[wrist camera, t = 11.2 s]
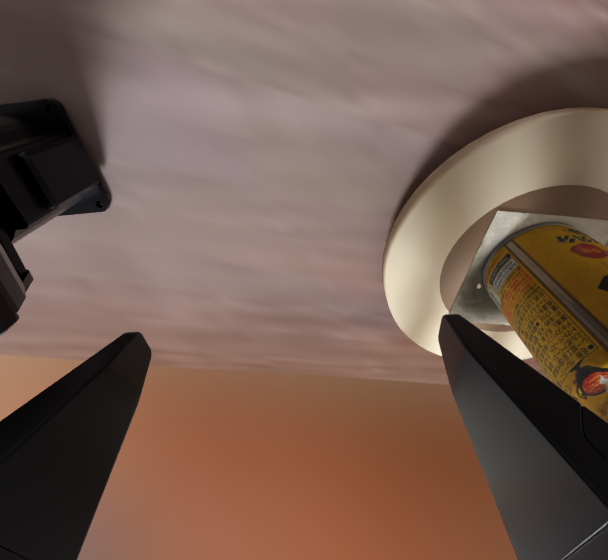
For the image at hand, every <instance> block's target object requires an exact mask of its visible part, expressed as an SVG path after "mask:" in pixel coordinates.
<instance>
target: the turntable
mask: <svg viewBox="0 0 608 560" xmlns="http://www.w3.org/2000/svg"><path fill="white" fill-rule="evenodd" d="M497 211H506V212H517V213H531V214H545V215H556V216H569V217H579V218H589V219H597V220H606V221H608V109H606V108H596V107H578V108H564V109H558V110H553V111H547V112H541V113H538V114H535V115H532V116H528V117H525V118H522V119H518V120H516V121H513V122H511V123H509V124H506V125H504V126H501V127H499V128H497V129H494V130H492V131H491V132H489V133H487V134H485V135H483V136H482V137H480V138H478V139H476V140H474V141H473V142H471V143H469V144H468V145H466V146H465V147H464V148H462V149H461V150H459V151H458V152H456V153H455V154H453V155H452V156H451V157H449V158H448V159H447V160H446V161H445V162H444V163H442V164H441V165H440V166H439V167H438V168H437V169H435V170H434V171H433V172H432V173H431V174H430V175H429V176H428V177H427V178H426V179H425V180H424V181H423V183H422V184H421V185H420V186H419V187H418V188H417V189H416V190H415V192H414V193H413V194H412V196H411V197H410V198H409V200H408V201H407V202H406V204H405V205H404V207H403V208H402V210H401V212H400V213H399V215H398V217H397V219H396V220H395V222H394V224H393V227H392V229H391V232H390V234H389V236H388V239H387V243H386V246H385V250H384V255H383V263H382V281H383V286H384V290H385V295H386V298H387V302H388V305H389V308H390V310H391V313H392V315H393V318H394V319H395V321H396V322H397V324H398V326H399V327H400V328H401V330H402V331H403V332H404V333H405V334H406V335H407V336H408V337H409V338H410V339H411V340H413V341H414V342H415V343H416V344H418V345H420V346H421V347H423V348H425V349H426V350H428V351H431V352H433V353H435V354H438V355H440V356H442V353H441V349H440V346H439V341H438V334H439V329H440V324H441V319H442V316H443V315H445V314H450V312H451V310H452V307H453V304H454V302H455V299H456V297H457V296H458V294H459V291H460V289H461V287H462V286H463V284H464V282H465V279H466V276H467V274H468V272H469V269H470V266H471V264H472V263H473V261H474V257H475V255H476V253H477V251H478V249H479V248H480V246H481V244H482V241H483V239H484V237H485V235H486V233H487V231H488V229H489V227H490V225H491V223H492V221H493V219H494V217H495V215H496V213H497ZM604 246H605V247H607V248H608V241H607V243H606V244H605V245H604ZM480 287H481V285H480V284H478V285H477V288H480ZM472 324H473V325H475V326H476V327H477V328H479V329H480V330H481V331H483V332H484V333H486V334H487V335H488V336H490V337H491V338H492V339H494V340H495V341H496V342H498V343H499V344H501V345H502V346H503V347H505V348H506V349H507V350H509V351H510V352H511V353H513V354H514V355H516V356H517V357H518V358H520V359H521V360H522V359H528V358H532V357H533V356H532V355H531V353H530V352H529V350H528V349H527V348H526V346H525V345H524V344H523V342H522V341H521V339H520V338H519V337H518V335H517V334H516V332H515V331H514V330H513V328H512V327H511V326H509V325H504V324H500V325H499V324H488V323H472Z"/></svg>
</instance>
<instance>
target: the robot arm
mask: <svg viewBox="0 0 608 560" xmlns="http://www.w3.org/2000/svg"><path fill="white" fill-rule="evenodd" d="M50 106H53V107H54V109H55V113H54V112H53V111H52V110H51V107H50ZM99 201H100V202H102V204H103V206H102V205H101V204H100V203H99ZM109 207H110V201H109V199H108V197H107V195H106V193H105V191H104V189H103V187H102V185H101V183H100V181H99V178H98V176H97V174H96V172H95V170H94V168H93V165H92V163H91V161H90V159H89V157H88V155H87V153H86V151H85V149H84V147H83V145H82V143H81V141H80V139H79V138H78V136H77V134H76V132H75V130H74V128H73V126H72V124H71V122H70V120H69V118H68V116H67V113H66V111H65V109H64V107H63V106H62V104H61V103H60V102H59V101H57V100H55V99H51V98H49V99H42V100H34V101H27V102H19V103H11V104H4V105H0V336H1V335H2V334H4V333H5V332H6V331H7V330H8V329H9V328H10V327H12V326H13V325H14V324H15V323H16V322H17V321H18V319H19V315H18V314H17V312H18V310H19V309H20V307H21V305H22V303H23V301H24V300H25V298H26V295H25V293H26V291H27V289H28V288H29V286H30V284H31V282H32V281H33V277H32V275H31V273H30V271H29V270H26V268H25V267H24V265H23V263H22V261H21V259H20V257H19V255H18V253H17V252H16V250H15V248H14V246H13V243H15V242H17V241H18V240H20V239H21V238H23V237H25V236H26V235H28V234H29V233H31V232H33V231H34V230H36V229H37V228H39V227H40V226H42V225H44V224H45V223H47V222H48V221H50V220H52V219H53V218H55V217H56V216H62V215H73V214H83V213H93V212H103V211H106V210H107V209H108V208H109ZM438 341H439V346H440V349H441V353H442V357H443V361H444V364H445V368H446V372H447V376H448V380H449V383H450V386H451V390H452V393H453V396H454V399H455V401H456V404H457V406H458V409H459V411H460V414H461V417H462V419H463V422H464V424H465V427H466V429H467V432H468V434H469V437H470V439H471V442H472V444H473V447H474V450H475V452H476V455H477V457H478V460H479V462H480V465H481V467H482V470H483V472H484V475H485V477H486V480H487V482H488V485H489V487H490V490H491V492H492V495H493V498H494V500H495V503H496V505H497V507H498V510H499V513H500V515H501V518H502V520H503V523H504V525H505V528H506V531H507V533H508V536H509V538H510V541H511V543H512V546H513V548H514V551H515V553H516V556H517V559H518V560H608V423H607V422H606V421H604V420H603V419H602V418H600V417H599V416H598V415H596V414H595V413H593V412H592V411H591V410H589V409H588V408H587V407H585V406H581V403H580V402H578V401H577V400H575V399H574V398H573V397H571V396H570V395H569V394H567V393H566V392H565V391H563V390H562V389H561V388H559V387H558V386H556V385H555V384H554V383H552V382H551V381H550V380H548V379H547V378H546V377H544V376H543V375H541V374H540V373H539V372H537V371H536V370H535V369H533V368H532V367H531V366H529V365H528V364H526V363H525V362H524V361H522V360H521V359H520V358H518V357H517V356H516V355H514V354H513V353H511V352H510V351H509V350H507V349H506V348H505V347H503V346H502V345H501V344H499V343H498V342H496V341H495V340H494V339H492V338H491V337H490V336H488V335H487V334H486V333H484V332H483V331H481V330H480V329H479V328H477V327H476V326H475V325H473V324H472V323H471V322H469V321H468V320H466V319H465V318H464V317H462V316H461V315H459V314H445V315H443V316H442V319H441V324H440V329H439V334H438ZM150 360H151V349H150V347H149V346H148V344H147V342H146V340H145V339H144V337H143V335H142V334H141V333H140V332H127V333H124V334H123V335H121V336H120V337H119V338H117V339H116V340H114V341H113V342H111V343H110V344H109V345H107V346H106V347H104V348H103V349H102V350H100V351H99V352H97V353H96V354H95V355H93V356H92V357H90V358H89V359H88V360H86V361H85V362H83V363H82V364H81V365H79V366H78V367H76V368H75V369H73V370H72V371H71V372H70V373H68V374H67V375H65V376H64V377H62V378H61V379H59V380H58V381H57V382H55V383H54V384H52V385H51V386H49V387H48V388H47V389H45V390H44V391H42V392H41V393H40V394H38V395H37V396H35V397H34V398H33V399H31V400H30V401H28V402H27V403H26V404H24V405H23V406H21V407H20V408H18V409H17V410H16V411H14V412H13V413H11V414H10V415H9V416H7V417H6V418H5V419H3V420H2V421H1V422H0V560H77V558H78V556H79V553H80V551H81V548H82V546H83V543H84V540H85V538H86V535H87V533H88V530H89V528H90V525H91V523H92V520H93V517H94V515H95V512H96V510H97V507H98V505H99V502H100V500H101V497H102V495H103V492H104V489H105V487H106V484H107V482H108V479H109V477H110V474H111V472H112V469H113V467H114V464H115V461H116V459H117V456H118V453H119V451H120V449H121V445H122V444H123V441H124V438H125V436H126V433H127V431H128V428H129V426H130V423H131V421H132V418H133V416H134V413H135V410H136V407H137V405H138V402H139V398H140V396H141V392H142V388H143V385H144V381H145V377H146V374H147V370H148V367H149V363H150Z"/></svg>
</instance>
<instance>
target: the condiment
mask: <svg viewBox="0 0 608 560" xmlns="http://www.w3.org/2000/svg"><path fill="white" fill-rule="evenodd" d="M607 241H608V221H606V220H597V219H589V218H579V217H569V216H556V215H545V214H531V213H517V212H506V211H497V213H496V215H495V217H494V219H493V221H492V223H491V225H490V227H489V229H488V231H487V233H486V235H485V237H484V239H483V241H482V244H481V246H480V248H479V249H478V251H477V253H476V255H475V257H474V261H473V263H472V264H471V266H470V269H469V272H468V274H467V276H466V279H465V282H464V284H463V286H462V287H461V289H460V291H459V294H458V296H457V297H456V299H455V302H454V304H453V307H452V310H451V312H450V314H459V315H461V316H462V317H464V318H465V319H466V320H468V321H469V322H471V323H488V324H499V325H500V324H504V325H509V326H511V327H512V328H513V330H514V331H515V332H516V334H517V335H518V337H519V338H520V339H521V341H522V342H523V344H524V345H525V346H526V348H527V349H528V350H529V352H530V353H531V355H532V356H533V357H534V359H535V360H536V362H537V363H538V365H539V367H541V369H542V370H543V371H544V373H545V374H546V375H547V377H548V378H549V380H550V381H551V382H552V383H554V384H555V385H556V386H558V387H559V388H561V389H562V390H563V391H565V392H566V393H567V394H569V395H570V396H571V397H573V398H574V399H575V400H577V401H578V402H580V403H581V406H585V407H587V408H588V409H589V410H591V411H592V412H593V413H595V414H596V415H598V416H599V417H600V418H602V419H603V420H604V421H606V422H607V423H608V248H607V247H605V246H604V245H605V244H606V243H607ZM478 284H480V285H481V287H480V288H477V285H478Z"/></svg>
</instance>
